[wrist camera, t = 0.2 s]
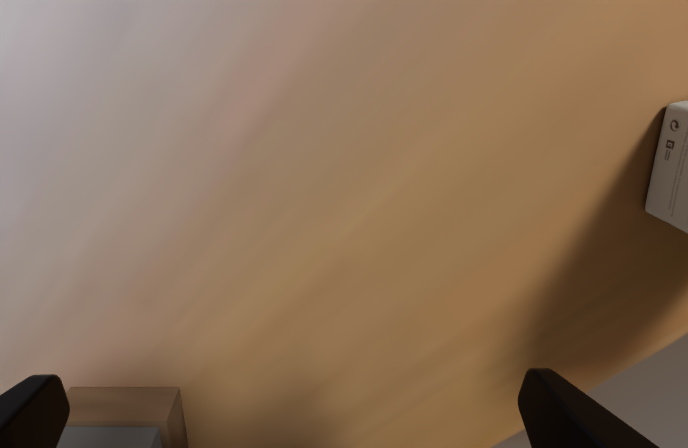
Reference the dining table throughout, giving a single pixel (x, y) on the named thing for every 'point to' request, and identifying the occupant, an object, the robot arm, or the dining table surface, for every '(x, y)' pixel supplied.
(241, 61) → the dining table surface
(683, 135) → the skincare box
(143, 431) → the grey block
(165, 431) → the walnut block
